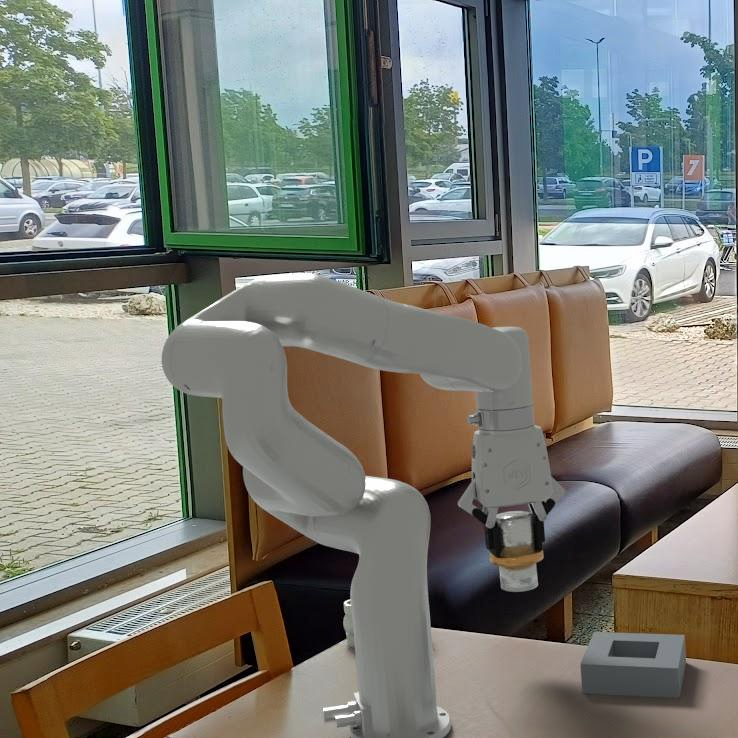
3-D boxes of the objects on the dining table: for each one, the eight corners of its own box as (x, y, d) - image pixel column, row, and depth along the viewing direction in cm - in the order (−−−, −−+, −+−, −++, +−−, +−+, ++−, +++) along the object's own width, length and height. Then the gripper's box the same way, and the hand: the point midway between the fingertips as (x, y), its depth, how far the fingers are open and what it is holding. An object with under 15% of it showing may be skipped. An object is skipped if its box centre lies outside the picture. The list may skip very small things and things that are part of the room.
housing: (680, 707, 142) (677, 668, 141) (582, 702, 146) (580, 664, 145) (686, 671, 153) (684, 634, 152) (596, 667, 157) (593, 631, 156)
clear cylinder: (502, 597, 152) (495, 525, 151) (486, 583, 159) (479, 514, 158) (553, 588, 153) (547, 517, 152) (535, 575, 160) (529, 506, 159)
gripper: (451, 430, 148) (462, 567, 150) (576, 415, 151) (585, 549, 153) (437, 422, 155) (448, 552, 157) (556, 408, 158) (565, 536, 160)
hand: (515, 549), depth 155 cm, fingers closed on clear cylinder, 5 cm apart
